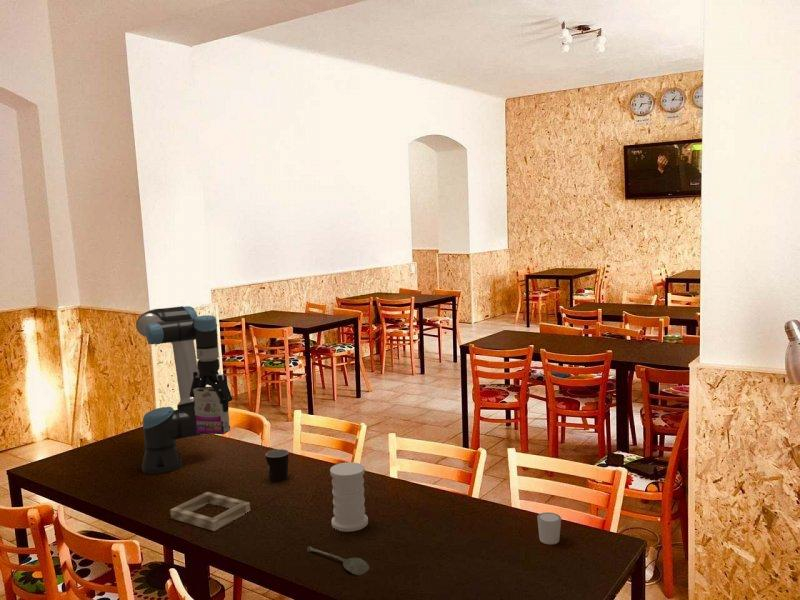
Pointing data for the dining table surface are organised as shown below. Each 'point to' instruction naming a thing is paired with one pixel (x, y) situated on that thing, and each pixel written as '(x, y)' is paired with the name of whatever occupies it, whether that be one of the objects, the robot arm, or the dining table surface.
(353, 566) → the soupspoon
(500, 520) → the dining table surface
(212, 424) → the candy bar box
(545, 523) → the shot glass
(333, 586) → the dining table surface
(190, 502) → the grey rectangular frame
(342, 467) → the decorative container
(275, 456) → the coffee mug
